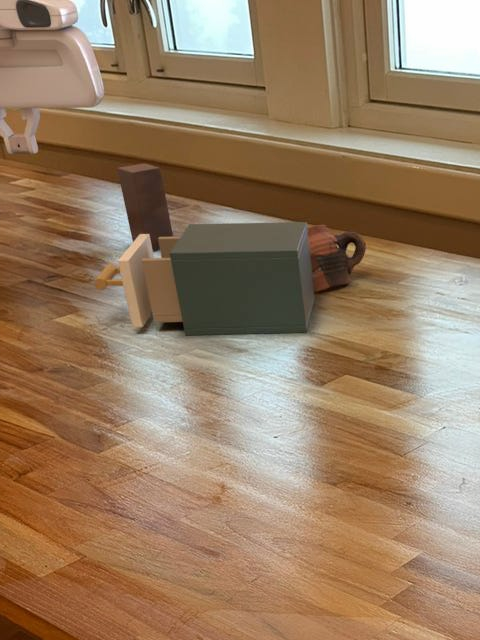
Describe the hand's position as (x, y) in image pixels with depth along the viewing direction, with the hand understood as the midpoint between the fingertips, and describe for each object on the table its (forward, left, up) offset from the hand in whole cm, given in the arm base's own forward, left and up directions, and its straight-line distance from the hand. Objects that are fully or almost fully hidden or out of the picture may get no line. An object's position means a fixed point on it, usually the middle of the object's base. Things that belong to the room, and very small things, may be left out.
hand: (23, 153), depth 109 cm
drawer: (+12, -7, -18) cm, 23 cm away
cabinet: (+20, -12, -19) cm, 30 cm away
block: (+20, +26, -19) cm, 38 cm away
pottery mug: (+34, -4, -19) cm, 39 cm away
